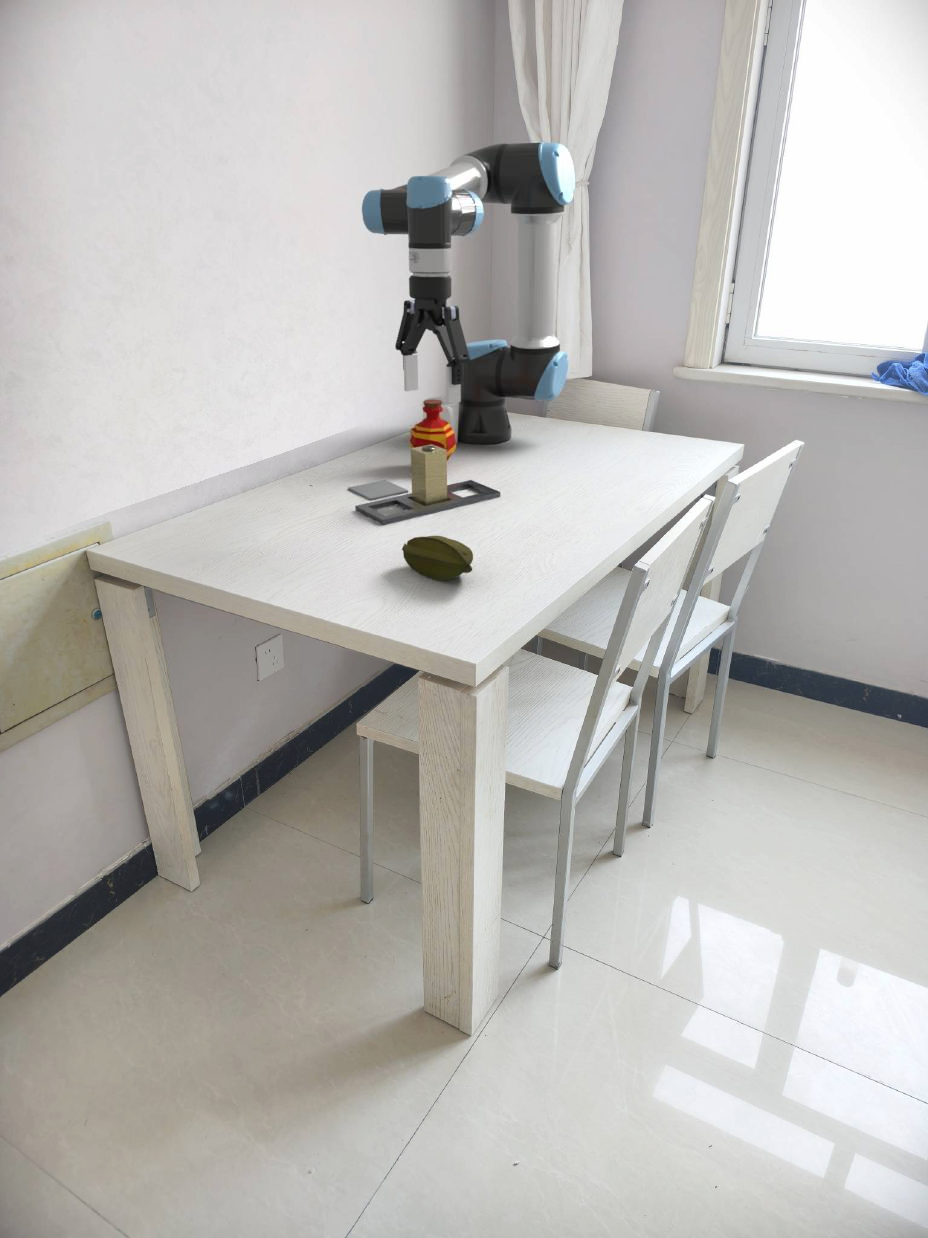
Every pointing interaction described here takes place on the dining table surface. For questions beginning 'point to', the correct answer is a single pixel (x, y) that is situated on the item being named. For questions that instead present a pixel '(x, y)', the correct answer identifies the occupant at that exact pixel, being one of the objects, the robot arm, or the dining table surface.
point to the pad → (378, 489)
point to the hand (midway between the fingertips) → (431, 396)
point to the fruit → (438, 557)
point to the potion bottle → (433, 429)
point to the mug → (447, 413)
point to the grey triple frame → (419, 509)
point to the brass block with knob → (429, 474)
